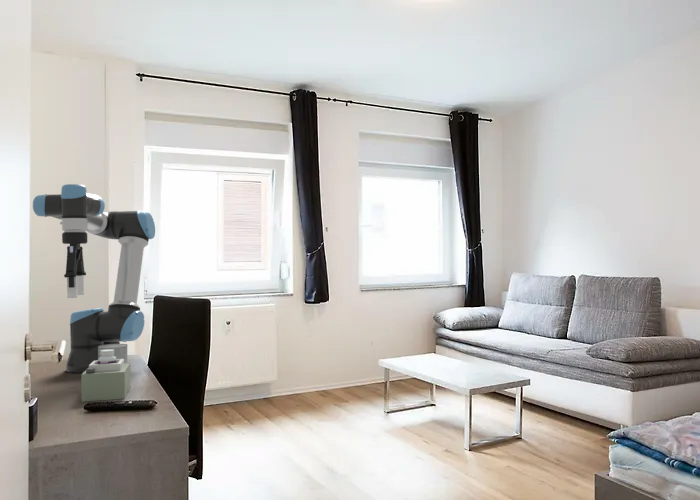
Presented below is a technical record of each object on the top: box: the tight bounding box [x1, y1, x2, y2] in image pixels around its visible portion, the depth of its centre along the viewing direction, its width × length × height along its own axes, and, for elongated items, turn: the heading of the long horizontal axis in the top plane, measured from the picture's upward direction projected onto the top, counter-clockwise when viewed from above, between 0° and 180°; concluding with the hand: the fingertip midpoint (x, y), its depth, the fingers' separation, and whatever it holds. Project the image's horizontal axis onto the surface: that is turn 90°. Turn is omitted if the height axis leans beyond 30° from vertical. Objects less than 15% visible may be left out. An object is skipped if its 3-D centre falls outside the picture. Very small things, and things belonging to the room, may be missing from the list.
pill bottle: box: [98, 349, 117, 364], centre depth 182 cm, size 5×5×10 cm
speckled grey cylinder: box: [98, 343, 129, 363], centre depth 202 cm, size 10×10×12 cm
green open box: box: [80, 359, 132, 403], centre depth 182 cm, size 16×12×10 cm
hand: (76, 296), depth 191 cm, fingers open, 13 cm apart
